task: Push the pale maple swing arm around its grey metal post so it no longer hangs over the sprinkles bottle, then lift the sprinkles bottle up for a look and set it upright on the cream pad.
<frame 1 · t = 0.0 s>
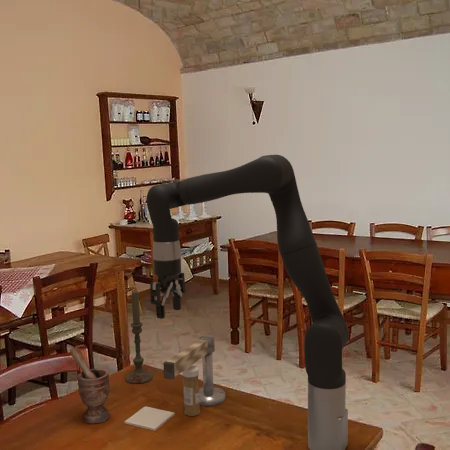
hand: (169, 313, 160), 29 cm above the table, tool pointing down, fingers open, 8 cm apart
swing arm: (190, 355, 161), point 17 cm above the table, hinge at 0.0°
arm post: (208, 398, 173), on the table
cream pad: (149, 419, 161), on the table
mortar and pestle: (90, 418, 163), on the table
candlestick holder: (139, 378, 189), on the table
sprinkles bottle: (192, 413, 164), on the table
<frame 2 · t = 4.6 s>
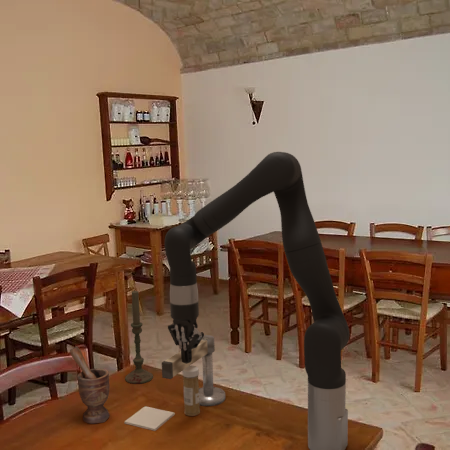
hand: (186, 362, 155), 18 cm above the table, tool pointing down, fingers closed
swing arm: (189, 355, 162), point 17 cm above the table, hinge at -1.5°, touching gripper
everything else where it was.
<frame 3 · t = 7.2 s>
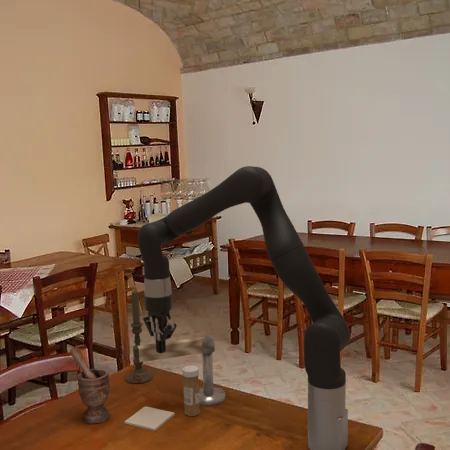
hand: (161, 352, 163), 18 cm above the table, tool pointing down, fingers closed
swing arm: (175, 348, 167), point 17 cm above the table, hinge at -44.5°, touching gripper
everything else where it was.
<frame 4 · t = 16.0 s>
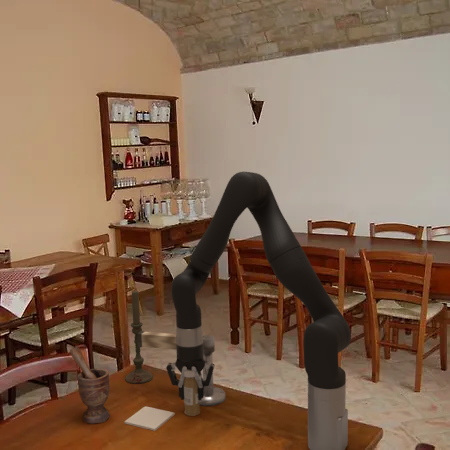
hand: (191, 398, 163), 4 cm above the table, tool pointing down, fingers closed on sprinkles bottle, 4 cm apart
swing arm: (176, 341, 173), point 17 cm above the table, hinge at -79.7°
sprinkles bottle: (192, 413, 164), on the table, touching gripper
everything else where it was.
when the fingers open (6 cm above the table, at t = 24.2 s): sprinkles bottle drops 1 cm, resting on cream pad.
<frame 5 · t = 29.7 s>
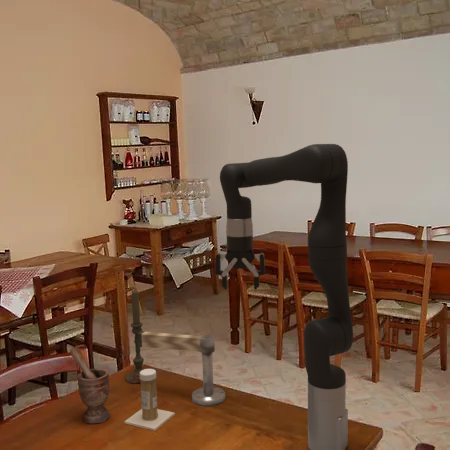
hand: (240, 288, 166), 34 cm above the table, tool pointing down, fingers open, 8 cm apart
sprinkles bottle: (149, 417, 161), resting on cream pad
everything else where it was.
at the end: swing arm at -80° (first picture: +0°); sprinkles bottle inside the target area on the cream pad (0.0 cm from its centre), point 0.4 cm above the cream pad's base; sprinkles bottle tilted 0° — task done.
